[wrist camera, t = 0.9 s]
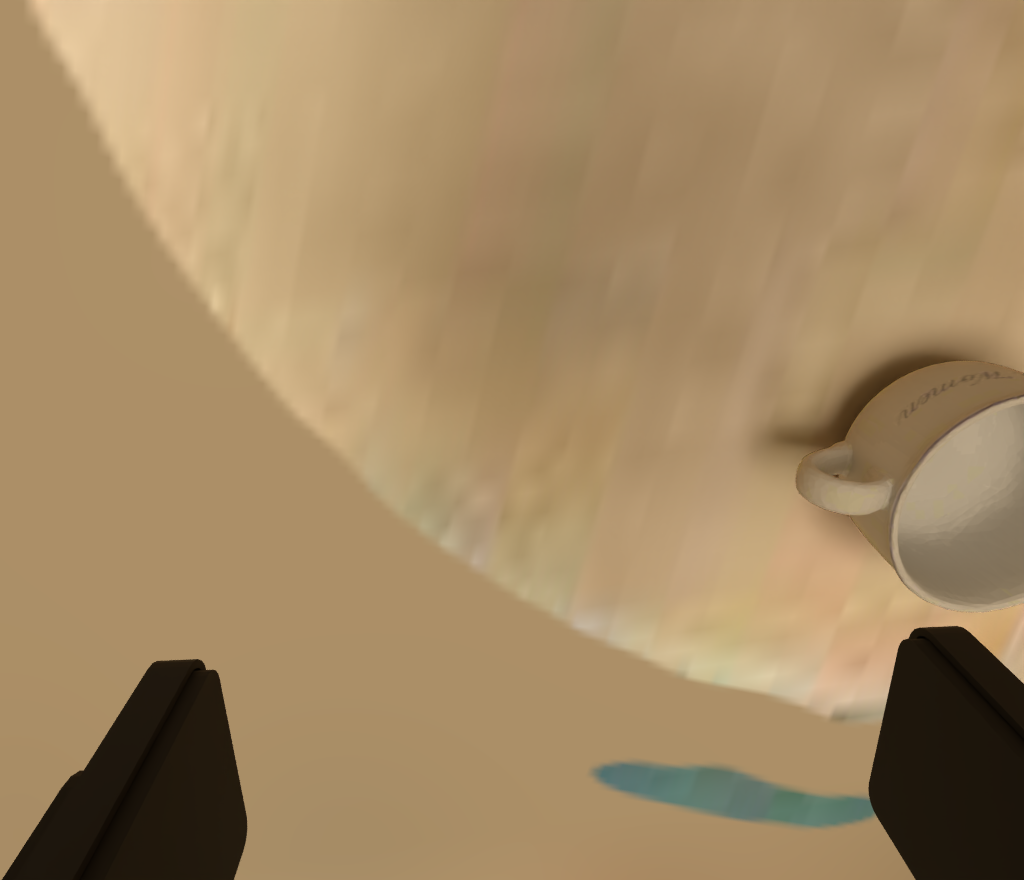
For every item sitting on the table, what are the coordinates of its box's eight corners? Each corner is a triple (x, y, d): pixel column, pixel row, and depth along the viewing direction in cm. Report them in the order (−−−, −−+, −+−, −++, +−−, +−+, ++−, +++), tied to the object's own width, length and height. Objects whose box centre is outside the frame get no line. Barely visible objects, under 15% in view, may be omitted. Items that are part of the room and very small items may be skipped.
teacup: (1050, 373, 37) (1194, 426, 30) (953, 553, 41) (1060, 640, 34) (806, 306, 35) (896, 345, 28) (726, 501, 39) (787, 581, 32)
